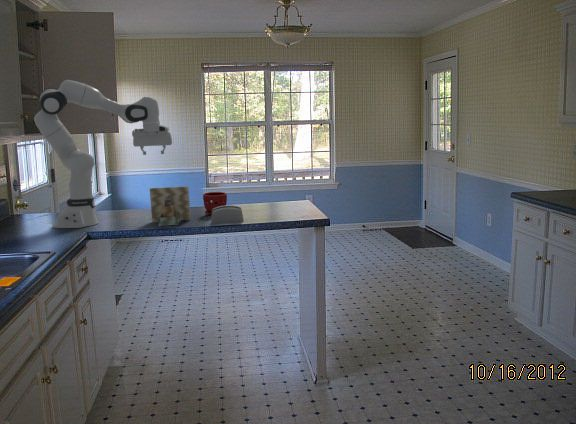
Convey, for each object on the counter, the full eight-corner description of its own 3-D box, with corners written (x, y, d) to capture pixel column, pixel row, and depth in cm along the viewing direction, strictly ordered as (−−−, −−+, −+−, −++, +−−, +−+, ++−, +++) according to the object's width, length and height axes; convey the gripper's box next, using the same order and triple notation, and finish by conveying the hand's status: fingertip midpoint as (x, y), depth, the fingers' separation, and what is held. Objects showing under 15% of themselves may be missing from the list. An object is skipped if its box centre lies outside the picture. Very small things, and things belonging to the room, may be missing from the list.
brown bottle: (163, 222, 283) (161, 200, 281) (166, 219, 293) (164, 197, 291) (173, 222, 283) (171, 199, 281) (175, 218, 293) (174, 197, 291)
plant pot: (201, 216, 304) (199, 195, 302) (208, 212, 317) (206, 191, 315) (224, 216, 302) (222, 194, 300) (230, 212, 315) (229, 191, 313)
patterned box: (148, 227, 280) (145, 192, 277) (153, 221, 296) (150, 187, 293) (188, 225, 282) (185, 190, 279) (190, 219, 298) (188, 186, 295)
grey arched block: (243, 219, 291) (242, 202, 286) (243, 224, 287) (243, 207, 282) (211, 221, 289) (210, 204, 284) (211, 226, 285) (210, 209, 280)
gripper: (130, 129, 291) (132, 155, 293) (170, 127, 292) (172, 154, 295) (132, 128, 297) (135, 154, 299) (171, 127, 298) (173, 153, 301)
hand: (153, 154), depth 297 cm, fingers open, 8 cm apart
